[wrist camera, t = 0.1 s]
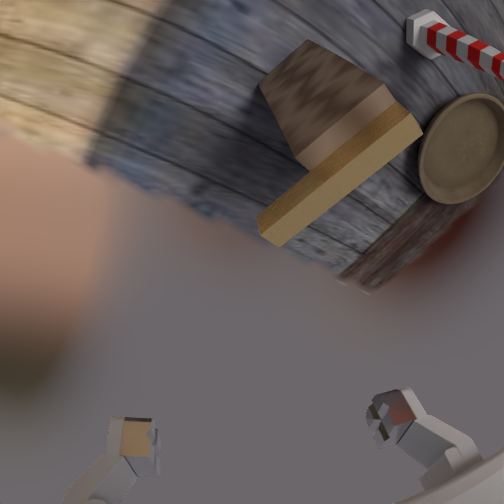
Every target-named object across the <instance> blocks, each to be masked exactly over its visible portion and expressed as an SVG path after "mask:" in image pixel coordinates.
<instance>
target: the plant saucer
mask: <svg viewBox="0 0 504 504" xmlns="http://www.w3.org/2000/svg"><path fill="white" fill-rule="evenodd" d="M503 165H504V106H503V105H502V103H501V102H500V101H499V100H497V99H496V98H494V97H493V96H490V95H488V94H484V93H470V94H466V95H462V96H460V97H458V98H456V99H454V100H453V101H451V102H450V103H448V104H446V105H445V106H444V107H443V108H442V109H440V110H439V111H438V113H437V114H436V115H435V116H434V117H433V118H432V120H431V122H430V123H429V125H428V127H427V128H426V131H425V133H424V135H423V138H422V141H421V145H420V148H419V153H418V175H419V180H420V183H421V185H422V188H423V189H424V191H425V193H426V194H427V195H428V196H429V197H430V198H431V199H433V200H434V201H436V202H439V203H443V204H457V203H461V202H464V201H467V200H469V199H471V198H473V197H475V196H476V195H478V194H479V193H481V192H482V191H483V190H484V189H485V188H487V187H488V186H489V185H490V184H491V182H492V181H493V180H494V179H495V178H496V176H497V175H498V174H499V172H500V171H501V169H502V167H503Z"/></svg>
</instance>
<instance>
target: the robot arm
mask: <svg viewBox="0 0 504 504" xmlns="http://www.w3.org/2000/svg"><path fill="white" fill-rule="evenodd" d="M372 402H373V404H372V405H370V406H369V407H368V409H367V412H366V420H367V424H368V426H369V428H370V429H372V430H373V431H375V432H374V436H373V437H374V440H375V442H376V444H377V446H378V449H382V448H386V447H389V446H393V445H396V444H397V446H398V447H399V448H401V449H402V450H403V451H405V452H406V453H407V454H408V455H410V456H411V457H412V458H414V459H415V460H416V461H417V462H419V463H420V464H421V465H423V466H424V467H425V468H427V470H426V471H425V472H424V473H423V474H422V475H421V476H420V478H419V480H420V482H421V484H422V486H423V489H424V491H422V492H420V493H417V494H415V495H413V496H410V497H408V498H405V499H403V500H401V501H398V502H395V503H393V504H504V447H503V448H501V449H500V450H498V451H497V452H495V453H493V454H492V455H490V456H489V457H487V458H485V459H484V460H483V458H482V456H481V454H480V453H479V451H478V449H477V448H476V446H475V444H474V442H473V441H472V439H471V437H469V436H467V435H465V434H463V433H461V432H460V431H458V430H456V429H454V428H453V427H451V426H449V425H447V424H445V423H444V422H442V421H440V420H438V419H436V418H435V417H433V416H431V415H428V416H427V414H426V412H425V411H424V409H423V407H422V406H421V404H420V403H419V401H418V399H417V397H416V396H415V394H414V392H413V391H412V389H411V388H410V387H404V388H400V389H396V390H392V391H389V392H385V393H381V394H377V395H375V396H374V397H373V399H372ZM160 452H161V444H160V436H159V432H158V429H156V428H155V421H154V419H153V418H132V417H118V416H112V418H111V420H110V425H109V431H108V437H107V445H106V451H105V454H101V455H100V456H99V457H98V458H97V459H96V460H95V461H94V462H93V463H92V464H91V466H90V467H89V468H88V469H87V470H86V471H85V472H84V473H83V474H82V475H81V476H80V477H79V478H78V479H77V480H76V481H75V482H74V483H73V484H72V485H71V486H70V487H69V488H68V490H67V491H66V492H65V495H64V501H63V504H120V502H121V501H122V500H123V498H124V497H125V495H126V494H127V493H128V491H129V490H130V488H131V487H132V486H133V484H134V483H135V481H136V480H137V477H160V461H159V458H158V454H159V453H160Z"/></svg>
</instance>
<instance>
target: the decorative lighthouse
mask: <svg viewBox="0 0 504 504" xmlns="http://www.w3.org/2000/svg"><path fill="white" fill-rule="evenodd" d="M406 43H407V44H409V45H410V46H412V47H413V48H414V49H415V50H417V51H418V52H419V53H421V54H422V55H423V56H425V57H427V58H429V59H431V60H432V59H433V58H435V57H437V56H439V55H441V54H442V55H444V56H447V57H450V58H452V59H455V60H458V61H460V62H463V63H465V64H468V65H470V66H472V67H475V68H477V69H479V70H482V71H484V72H486V73H488V74H491V75H493V76H495V77H497V78H499V79H501V80H503V81H504V53H502V52H500V51H498V50H496V49H495V48H493V47H491V46H489V45H487V44H485V43H483V42H481V41H479V40H477V39H475V38H473V37H471V36H469V35H467V34H465V33H463V32H461V31H458V30H456V29H454V28H452V27H450V26H449V25H448V24H447V23H446V22H445V21H444V20H443V19H442V18H441V17H439V16H438V15H437V14H436V13H435V12H434V11H431V10H427V9H425V10H423V11H421V12H418V13H416V14H414V15H412V16H410V17H408V18H407V20H406Z"/></svg>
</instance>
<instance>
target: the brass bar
mask: <svg viewBox="0 0 504 504" xmlns="http://www.w3.org/2000/svg"><path fill="white" fill-rule="evenodd" d="M421 135H423V132H422V130H421V129H420V127H419V125H418V124H417V122H416V120H415V119H414V117H413V115H412V114H411V113H410V112H409V111H408V110H407V109H405V108H404V107H403V106H402V105H400V104H399V103H398V102H395V103H393V104H392V105H391V106H390V107H388V108H387V109H386V110H385V111H383V112H382V113H381V114H380V115H378V116H377V117H376V118H375V119H373V120H372V121H371V122H370V123H369V124H367V125H366V126H365V127H364V128H362V129H361V130H360V131H359V132H358V133H356V134H355V135H354V136H353V137H351V138H350V139H349V140H348V141H347V142H345V143H344V144H343V145H342V146H340V147H339V148H338V149H337V150H336V151H334V152H333V153H332V154H331V155H330V156H328V157H327V158H326V159H325V160H324V161H322V162H321V163H320V164H319V165H318V166H316V167H315V168H314V169H313V170H312V171H310V172H309V173H308V174H307V175H306V176H304V177H303V178H302V179H301V180H300V181H298V182H297V183H296V184H295V185H294V186H292V187H291V188H290V189H289V190H288V191H287V192H285V193H284V194H283V195H282V196H281V197H279V198H278V199H277V200H276V201H275V202H274V203H272V204H271V205H270V206H269V207H268V208H267V209H265V210H264V211H263V212H262V213H261V214H260V215H258V216H257V217H256V218H257V223H258V227H259V232H260V236H262V237H264V238H265V239H267V240H268V241H270V242H271V243H273V244H274V245H276V246H277V247H280V246H282V245H283V244H284V243H285V242H287V241H288V240H289V239H291V238H292V237H293V236H294V235H296V234H297V233H298V232H300V231H301V230H302V229H303V228H305V227H306V226H307V225H309V224H310V223H311V222H312V221H314V220H315V219H316V218H318V217H319V216H320V215H321V214H323V213H324V212H325V211H327V210H328V209H329V208H330V207H332V206H333V205H334V204H336V203H337V202H338V201H339V200H341V199H342V198H343V197H344V196H346V195H347V194H348V193H350V192H351V191H352V190H353V189H355V188H356V187H357V186H358V185H360V184H361V183H362V182H364V181H365V180H366V179H367V178H369V177H370V176H371V175H372V174H374V173H375V172H376V171H377V170H379V169H380V168H381V167H382V166H384V165H385V164H386V163H388V162H389V161H390V160H391V159H393V158H394V157H395V156H396V155H398V154H399V153H400V152H401V151H403V150H404V149H405V148H406V147H408V146H409V145H410V144H411V143H413V142H414V141H415V140H416V139H418V138H419V137H420V136H421Z"/></svg>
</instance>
